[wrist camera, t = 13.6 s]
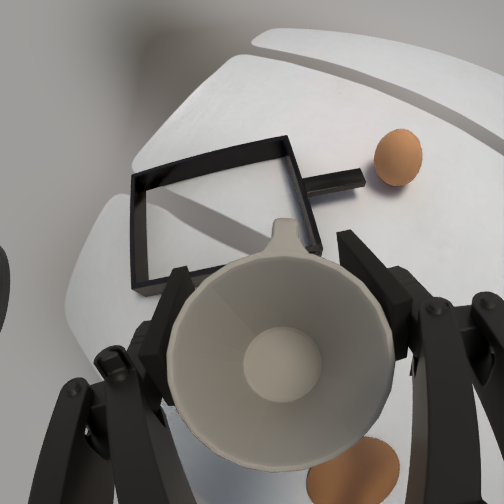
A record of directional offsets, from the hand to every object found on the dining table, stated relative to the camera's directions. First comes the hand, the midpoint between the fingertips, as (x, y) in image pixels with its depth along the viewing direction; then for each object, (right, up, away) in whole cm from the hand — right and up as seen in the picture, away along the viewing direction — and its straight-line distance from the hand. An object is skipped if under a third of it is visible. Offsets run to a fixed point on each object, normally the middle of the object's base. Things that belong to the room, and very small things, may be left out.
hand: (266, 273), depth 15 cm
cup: (+1, -4, +2) cm, 5 cm away
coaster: (+10, -22, +8) cm, 26 cm away
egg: (+17, +10, +20) cm, 28 cm away
